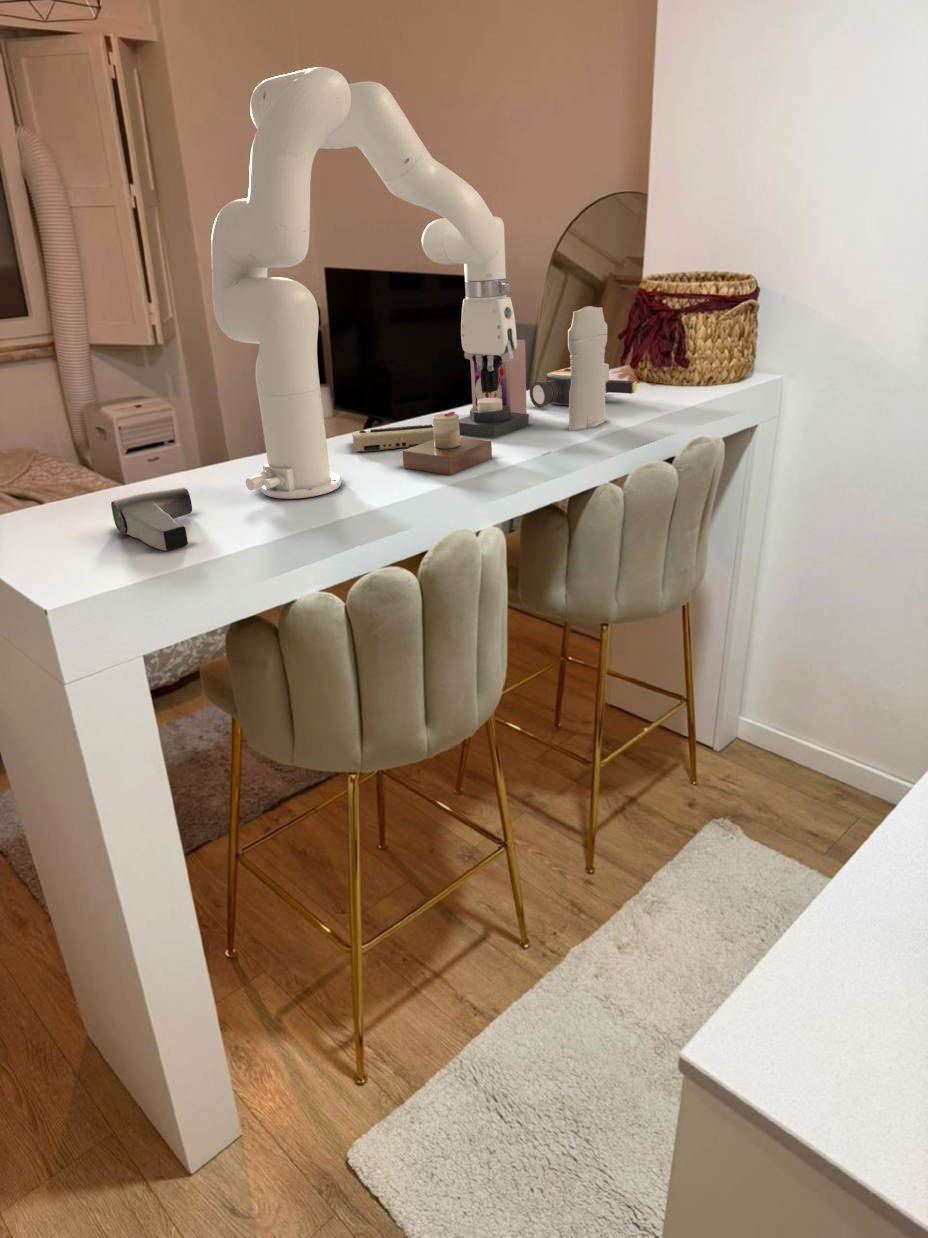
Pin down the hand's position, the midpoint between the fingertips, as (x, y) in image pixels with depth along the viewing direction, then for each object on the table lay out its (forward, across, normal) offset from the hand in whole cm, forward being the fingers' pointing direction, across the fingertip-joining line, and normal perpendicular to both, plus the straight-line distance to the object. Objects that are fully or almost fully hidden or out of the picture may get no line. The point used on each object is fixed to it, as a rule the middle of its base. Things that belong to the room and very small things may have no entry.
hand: (489, 390), depth 171 cm
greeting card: (+8, +5, -11) cm, 14 cm away
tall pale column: (+8, -16, -10) cm, 20 cm away
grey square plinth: (+7, 0, 0) cm, 7 cm away
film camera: (+8, -5, -28) cm, 29 cm away
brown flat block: (+7, -8, +24) cm, 26 cm away
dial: (+4, -8, +24) cm, 26 cm away
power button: (+4, 0, 0) cm, 4 cm away
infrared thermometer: (+7, +5, +71) cm, 72 cm away
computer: (+7, +9, +18) cm, 22 cm away
